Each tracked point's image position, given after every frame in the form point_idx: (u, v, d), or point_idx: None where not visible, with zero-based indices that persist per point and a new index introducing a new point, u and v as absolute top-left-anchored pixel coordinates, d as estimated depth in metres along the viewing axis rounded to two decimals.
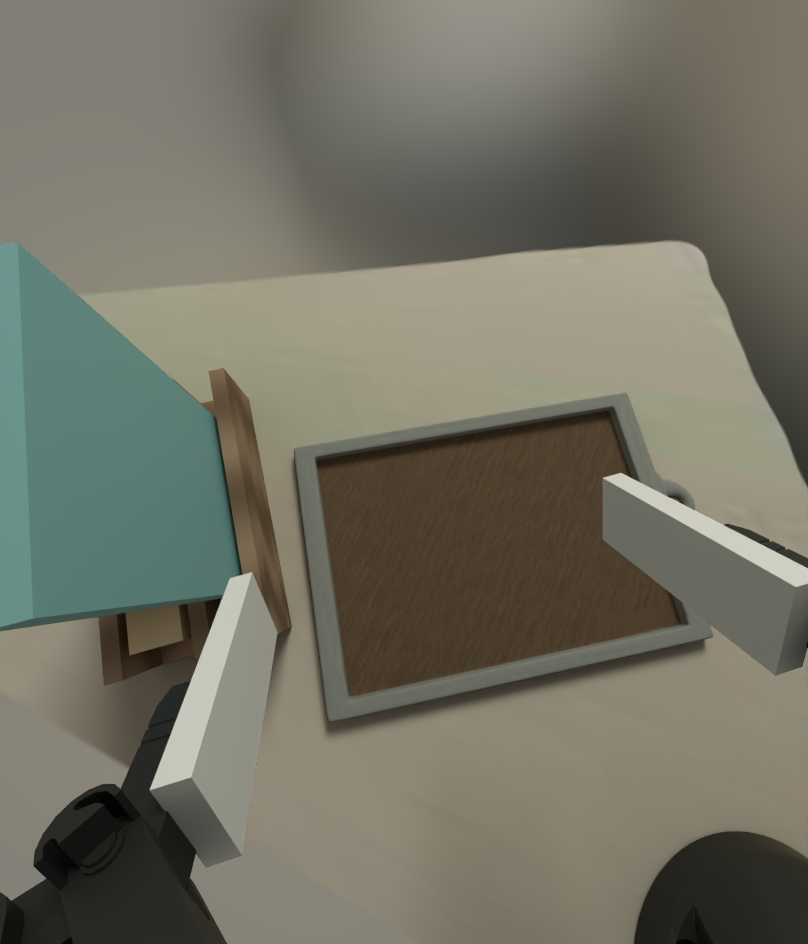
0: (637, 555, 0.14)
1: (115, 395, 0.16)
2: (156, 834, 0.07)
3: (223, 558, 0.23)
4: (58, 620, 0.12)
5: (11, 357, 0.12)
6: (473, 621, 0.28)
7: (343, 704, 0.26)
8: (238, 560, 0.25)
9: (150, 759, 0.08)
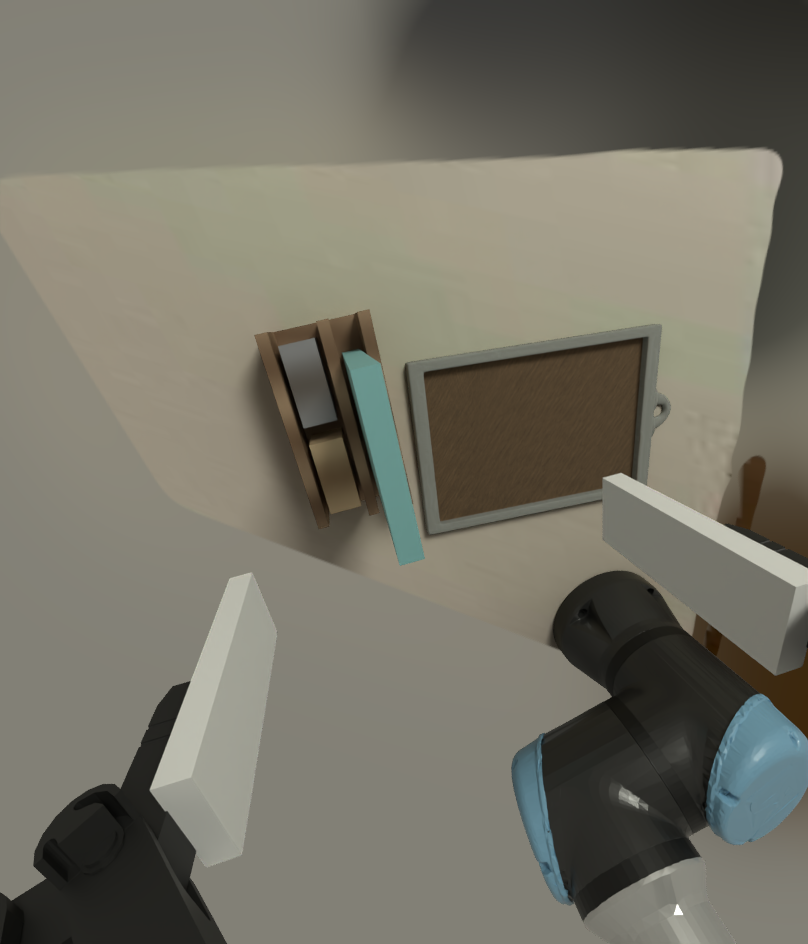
0: (637, 555, 0.14)
1: None
2: (156, 834, 0.07)
3: None
4: None
5: (392, 443, 0.22)
6: (515, 481, 0.45)
7: (437, 526, 0.45)
8: None
9: (150, 759, 0.08)
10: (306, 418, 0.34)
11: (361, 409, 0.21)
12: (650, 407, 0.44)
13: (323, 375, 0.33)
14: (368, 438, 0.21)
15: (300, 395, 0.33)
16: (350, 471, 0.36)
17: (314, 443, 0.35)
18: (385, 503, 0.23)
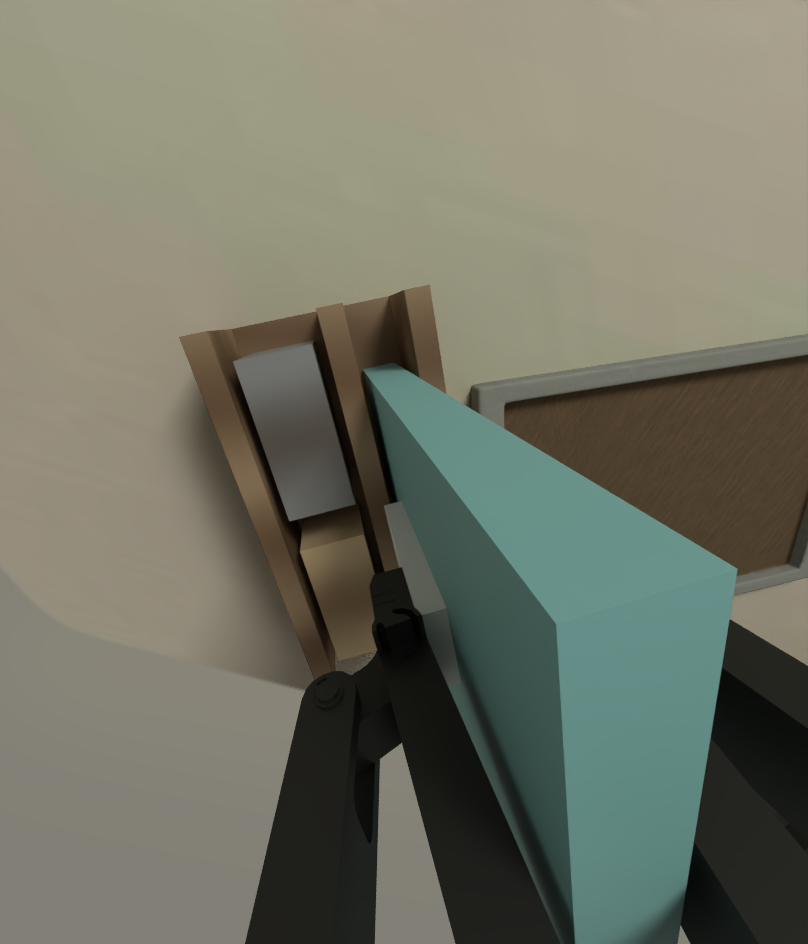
0: None
1: None
2: None
3: None
4: None
5: (670, 859, 0.05)
6: None
7: None
8: None
9: None
10: (295, 503, 0.17)
11: (573, 781, 0.04)
12: None
13: (329, 420, 0.16)
14: (574, 864, 0.05)
15: (282, 460, 0.16)
16: None
17: (310, 545, 0.18)
18: None
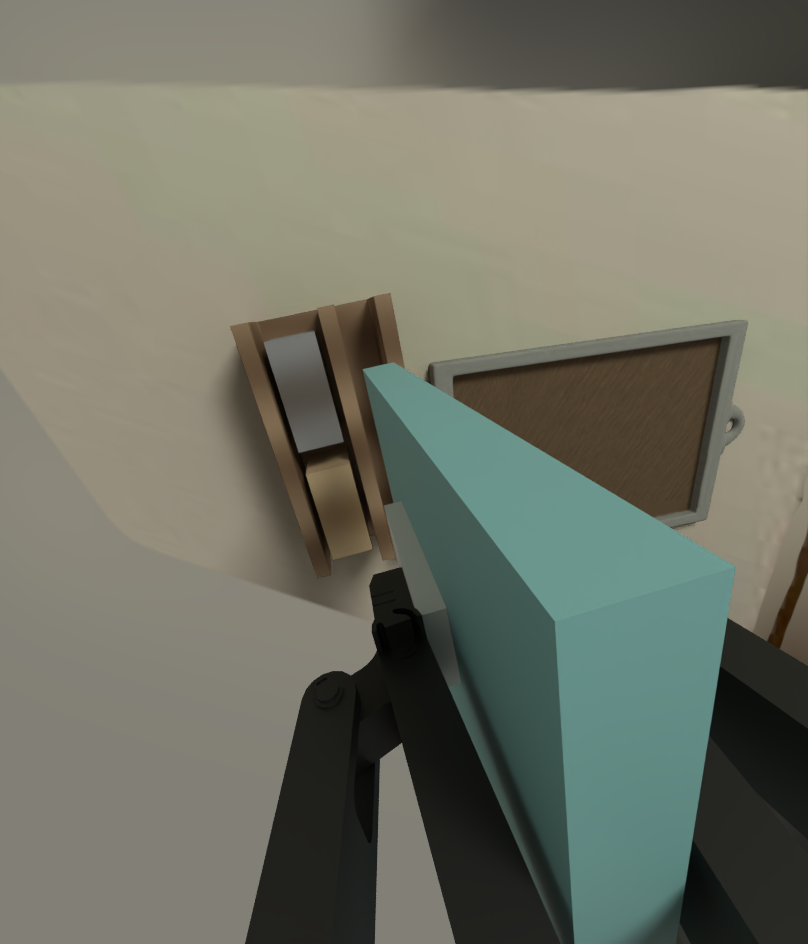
0: None
1: None
2: None
3: None
4: None
5: (669, 856, 0.05)
6: None
7: None
8: None
9: None
10: (302, 440, 0.25)
11: (572, 778, 0.04)
12: (723, 422, 0.36)
13: (326, 382, 0.24)
14: (573, 862, 0.05)
15: (294, 409, 0.25)
16: (359, 506, 0.28)
17: (312, 471, 0.27)
18: None
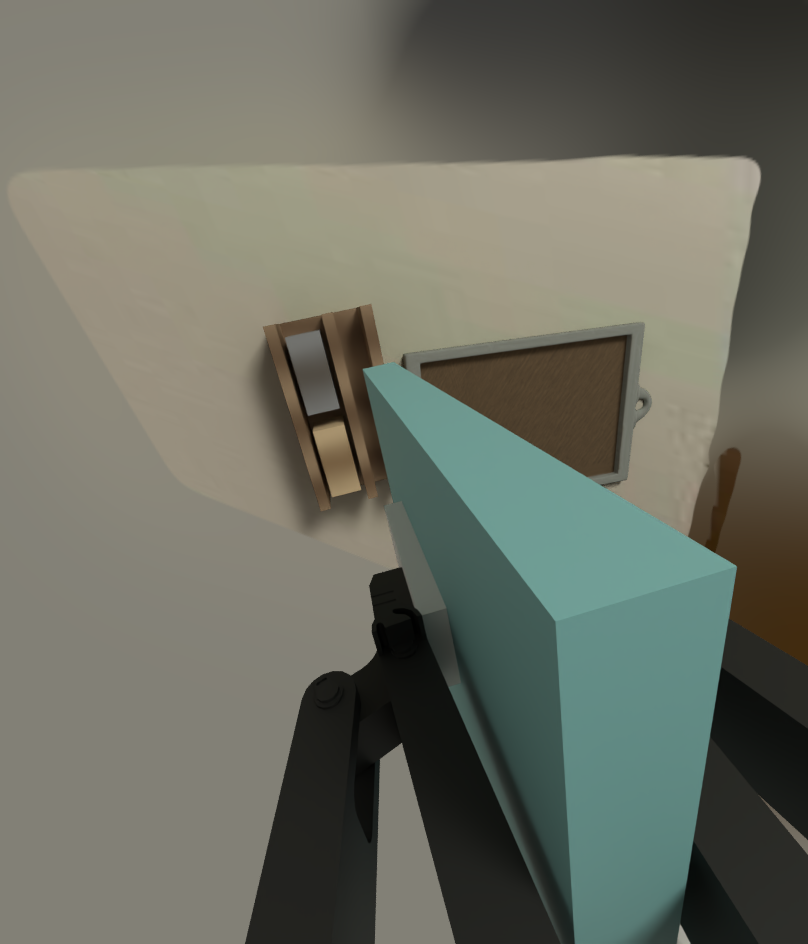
0: None
1: None
2: None
3: None
4: None
5: (670, 857, 0.05)
6: None
7: None
8: None
9: None
10: (310, 406, 0.36)
11: (572, 779, 0.04)
12: (632, 401, 0.47)
13: (327, 365, 0.35)
14: (574, 863, 0.05)
15: (305, 384, 0.36)
16: (351, 457, 0.39)
17: (317, 430, 0.38)
18: None
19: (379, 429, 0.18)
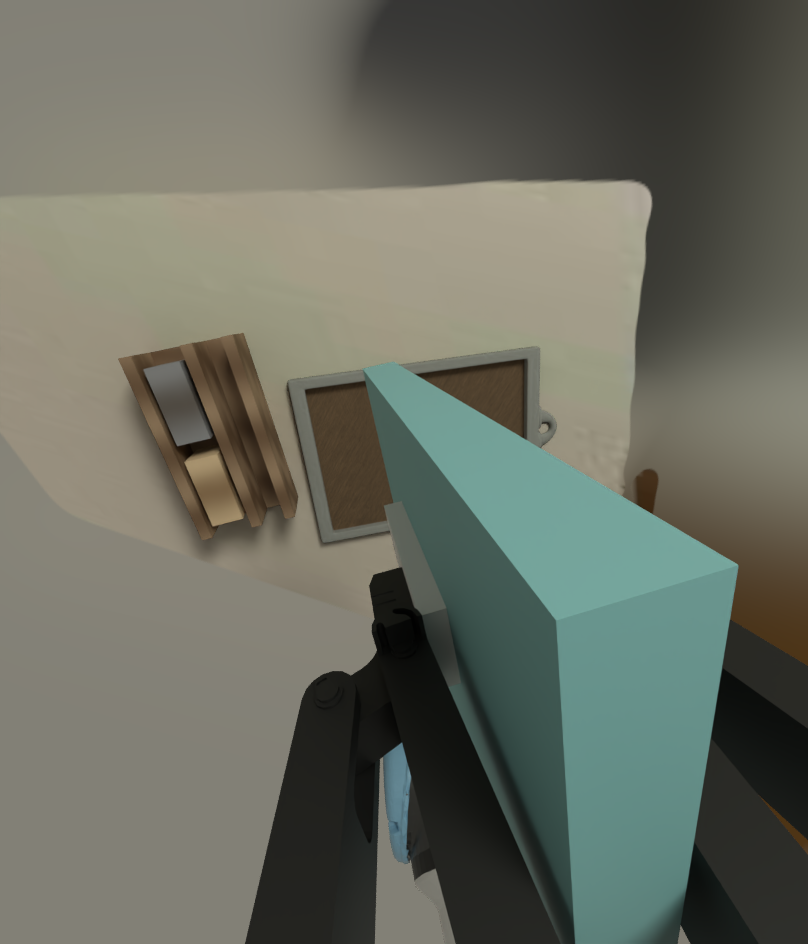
0: None
1: None
2: None
3: None
4: None
5: (671, 857, 0.05)
6: None
7: (330, 535, 0.46)
8: None
9: None
10: (179, 437, 0.36)
11: (573, 779, 0.04)
12: (534, 425, 0.46)
13: (192, 396, 0.35)
14: (574, 863, 0.04)
15: (170, 415, 0.35)
16: (228, 486, 0.38)
17: (190, 460, 0.37)
18: None
19: (379, 429, 0.18)
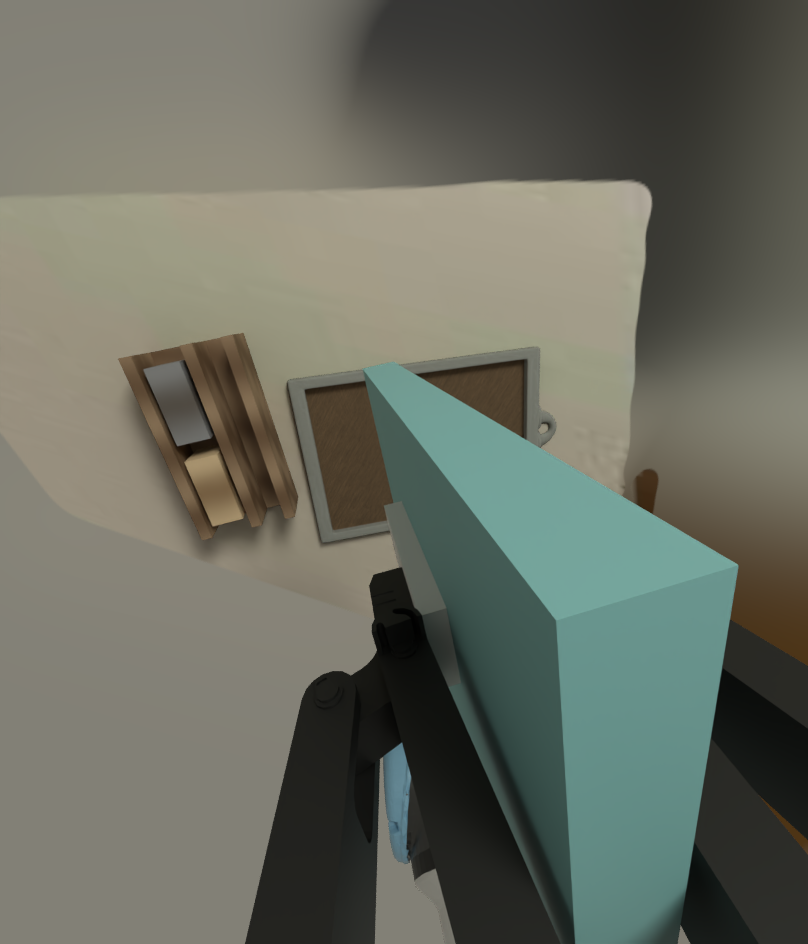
0: None
1: None
2: None
3: None
4: None
5: (671, 857, 0.05)
6: None
7: (330, 535, 0.47)
8: None
9: None
10: (179, 437, 0.36)
11: (573, 778, 0.04)
12: (534, 425, 0.46)
13: (192, 396, 0.35)
14: (574, 863, 0.04)
15: (170, 415, 0.35)
16: (228, 486, 0.38)
17: (190, 460, 0.37)
18: None
19: (379, 429, 0.18)
